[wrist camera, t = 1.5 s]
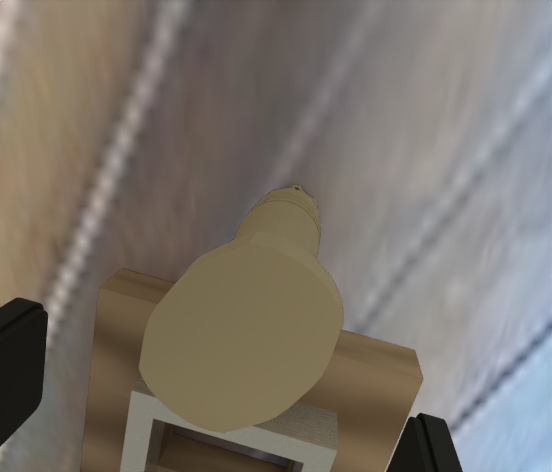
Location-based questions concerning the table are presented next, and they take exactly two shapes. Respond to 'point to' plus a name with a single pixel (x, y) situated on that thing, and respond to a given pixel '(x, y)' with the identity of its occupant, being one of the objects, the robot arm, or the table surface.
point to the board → (324, 394)
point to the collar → (233, 434)
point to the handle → (246, 321)
